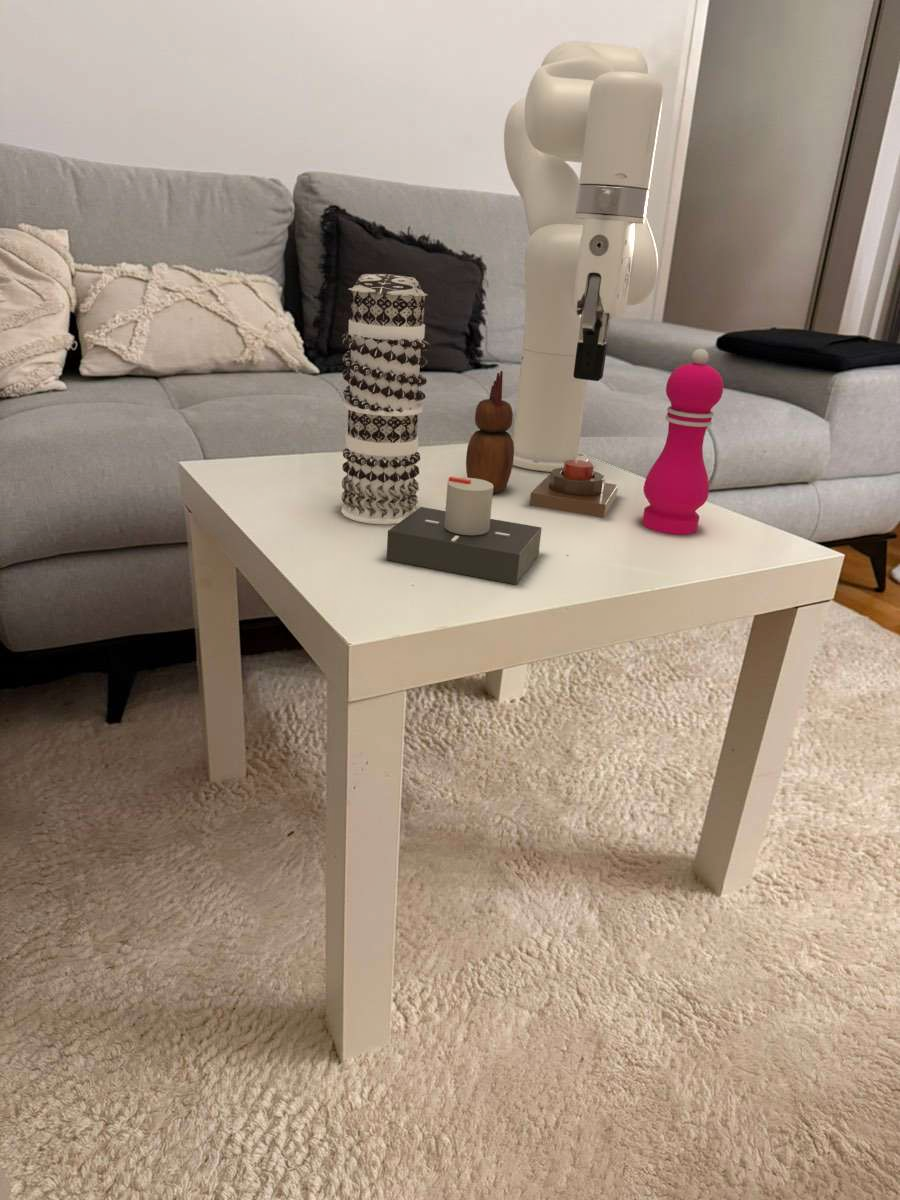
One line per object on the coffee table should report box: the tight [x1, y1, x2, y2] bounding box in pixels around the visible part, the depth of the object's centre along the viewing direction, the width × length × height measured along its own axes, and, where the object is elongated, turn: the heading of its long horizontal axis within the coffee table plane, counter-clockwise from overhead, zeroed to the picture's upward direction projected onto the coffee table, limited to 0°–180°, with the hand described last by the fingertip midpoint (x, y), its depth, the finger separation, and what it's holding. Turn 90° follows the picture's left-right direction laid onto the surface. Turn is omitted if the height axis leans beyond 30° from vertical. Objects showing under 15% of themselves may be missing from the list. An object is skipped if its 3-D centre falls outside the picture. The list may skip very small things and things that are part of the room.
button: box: [563, 460, 595, 479], centre depth 104 cm, size 4×4×2 cm
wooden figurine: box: [465, 370, 514, 494], centre depth 105 cm, size 7×6×15 cm
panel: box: [386, 506, 542, 585], centre depth 84 cm, size 9×13×3 cm
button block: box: [529, 467, 619, 519], centre depth 105 cm, size 10×9×4 cm
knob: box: [444, 476, 494, 536], centre depth 82 cm, size 4×4×5 cm
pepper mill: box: [641, 348, 724, 536], centre depth 95 cm, size 7×7×20 cm
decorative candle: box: [340, 273, 431, 525], centre depth 91 cm, size 9×9×25 cm
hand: (587, 378), depth 100 cm, fingers closed
